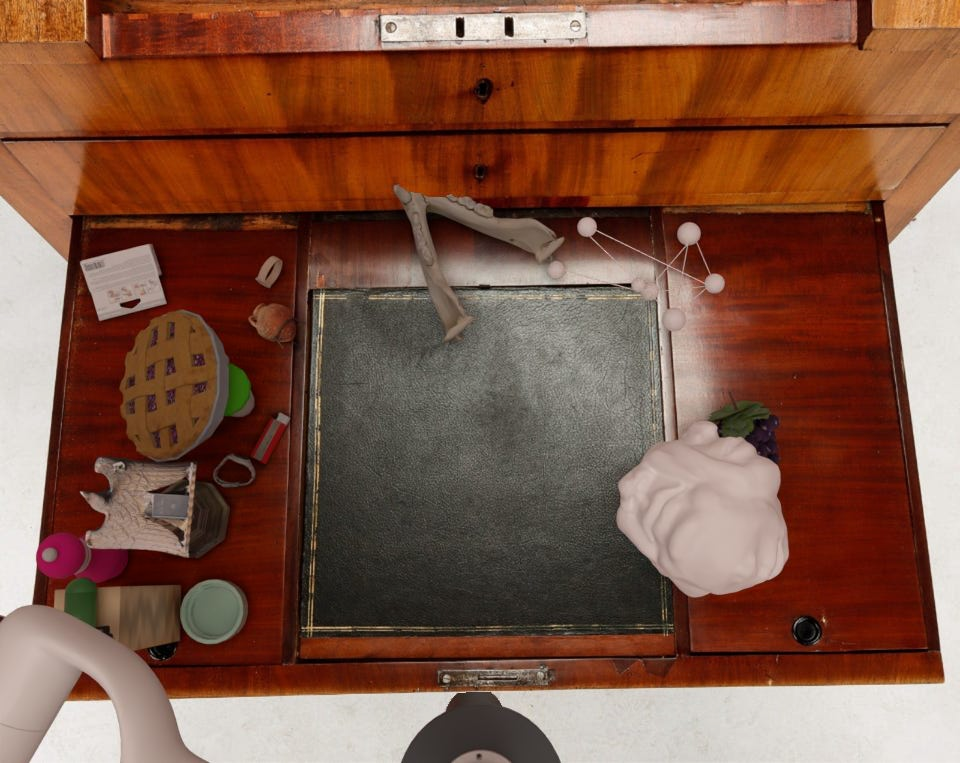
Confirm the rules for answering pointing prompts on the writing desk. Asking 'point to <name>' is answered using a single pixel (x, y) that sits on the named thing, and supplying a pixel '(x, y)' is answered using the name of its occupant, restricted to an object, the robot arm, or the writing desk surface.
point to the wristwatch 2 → (239, 460)
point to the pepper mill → (78, 558)
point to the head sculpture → (706, 512)
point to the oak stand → (137, 613)
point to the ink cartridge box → (124, 281)
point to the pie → (174, 386)
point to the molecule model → (649, 290)
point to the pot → (275, 323)
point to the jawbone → (481, 219)
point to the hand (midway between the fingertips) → (61, 643)
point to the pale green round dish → (214, 611)
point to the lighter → (270, 437)
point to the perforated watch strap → (265, 270)
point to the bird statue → (157, 508)
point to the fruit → (749, 426)
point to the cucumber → (82, 600)
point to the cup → (239, 393)
